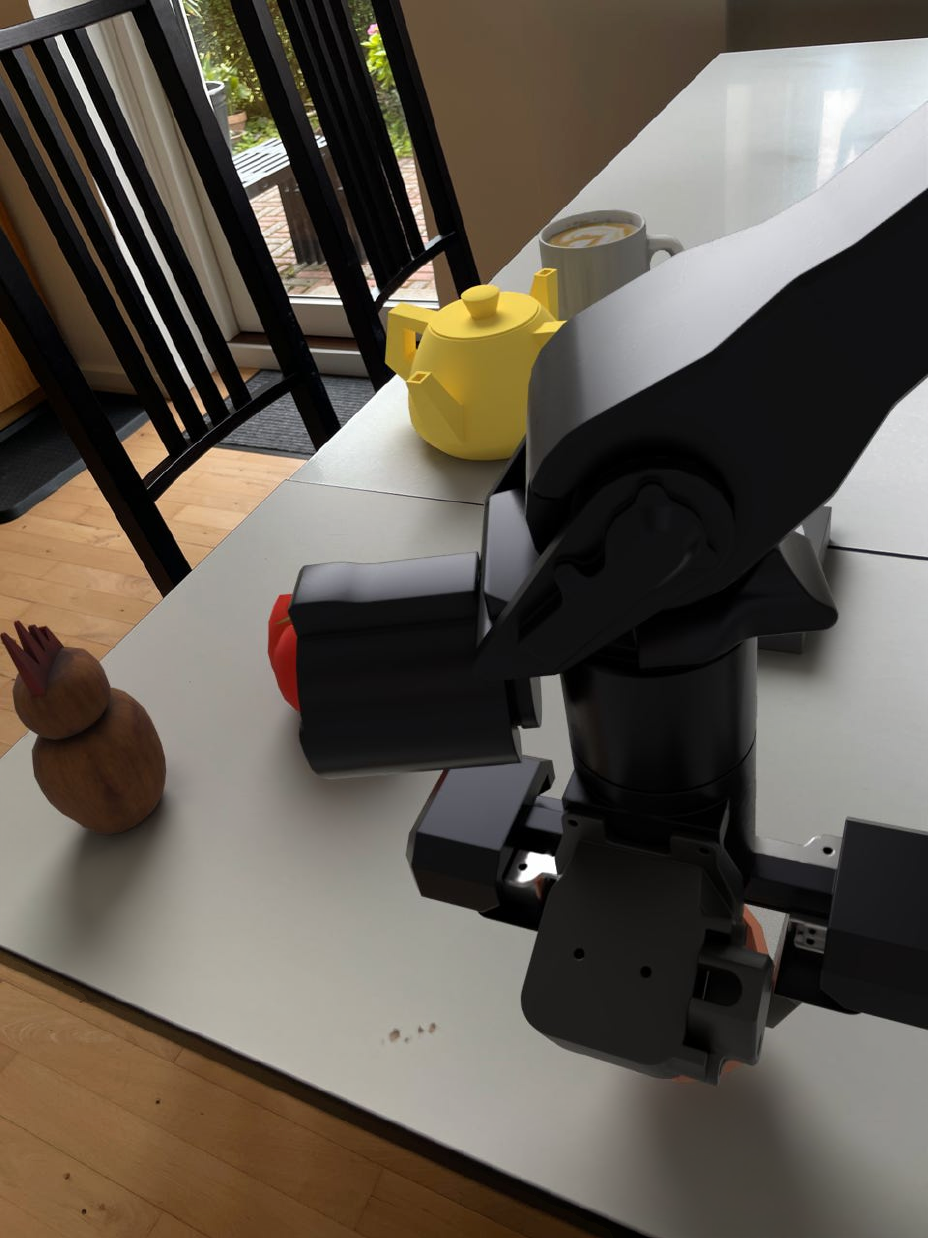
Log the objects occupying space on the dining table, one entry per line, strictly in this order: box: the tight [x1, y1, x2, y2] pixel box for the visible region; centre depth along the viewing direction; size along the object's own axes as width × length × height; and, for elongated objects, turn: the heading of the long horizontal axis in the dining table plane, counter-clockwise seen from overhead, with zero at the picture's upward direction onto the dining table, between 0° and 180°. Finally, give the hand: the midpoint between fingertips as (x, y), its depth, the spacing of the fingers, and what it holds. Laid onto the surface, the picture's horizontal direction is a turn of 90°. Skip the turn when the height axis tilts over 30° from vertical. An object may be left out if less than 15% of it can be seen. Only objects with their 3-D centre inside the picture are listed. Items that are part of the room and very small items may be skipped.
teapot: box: [384, 268, 567, 461], centre depth 84 cm, size 17×17×12 cm
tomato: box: [267, 593, 300, 714], centre depth 61 cm, size 9×9×8 cm
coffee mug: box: [538, 208, 685, 321], centre depth 95 cm, size 13×10×10 cm
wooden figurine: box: [0, 619, 167, 835], centre depth 54 cm, size 7×6×15 cm
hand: (680, 992), depth 41 cm, fingers closed on bowl, 7 cm apart
